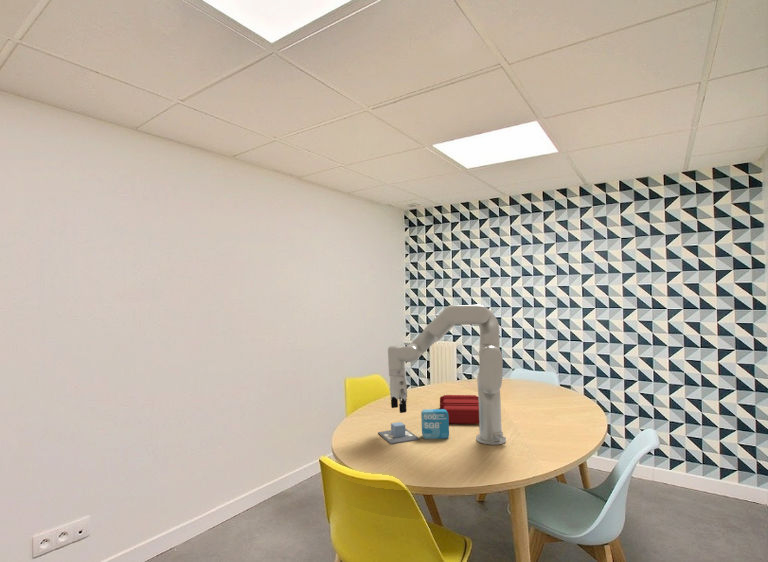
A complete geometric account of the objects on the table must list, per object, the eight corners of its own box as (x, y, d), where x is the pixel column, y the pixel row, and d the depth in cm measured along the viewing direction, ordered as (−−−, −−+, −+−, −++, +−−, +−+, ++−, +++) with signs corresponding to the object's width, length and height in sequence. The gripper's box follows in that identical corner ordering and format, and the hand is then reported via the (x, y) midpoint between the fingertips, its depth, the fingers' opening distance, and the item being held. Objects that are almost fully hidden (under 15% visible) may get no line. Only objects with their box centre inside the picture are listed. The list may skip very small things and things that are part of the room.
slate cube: (405, 436, 179) (405, 424, 180) (395, 437, 178) (395, 426, 178) (401, 432, 184) (400, 421, 184) (391, 434, 182) (390, 423, 182)
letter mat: (419, 439, 176) (419, 438, 176) (390, 444, 171) (390, 443, 171) (404, 429, 191) (404, 428, 191) (378, 433, 186) (377, 432, 186)
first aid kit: (440, 408, 228) (439, 393, 229) (480, 408, 225) (480, 393, 226) (440, 425, 197) (439, 407, 197) (487, 426, 194) (487, 408, 194)
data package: (422, 439, 177) (421, 412, 177) (421, 435, 181) (421, 409, 182) (449, 438, 176) (448, 411, 177) (447, 435, 181) (447, 408, 182)
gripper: (412, 374, 176) (414, 413, 175) (397, 369, 192) (398, 404, 191) (396, 376, 173) (398, 415, 172) (382, 370, 189) (384, 406, 188)
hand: (398, 410), depth 181 cm, fingers open, 9 cm apart
